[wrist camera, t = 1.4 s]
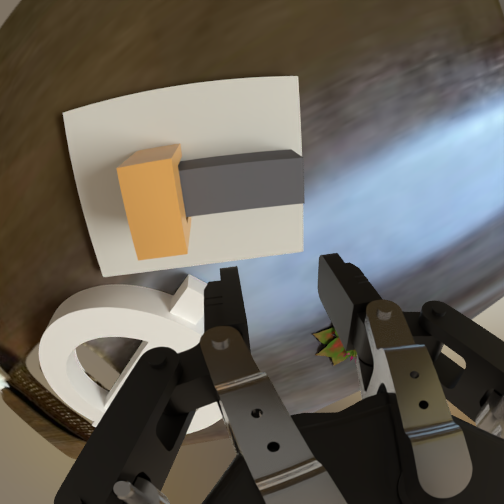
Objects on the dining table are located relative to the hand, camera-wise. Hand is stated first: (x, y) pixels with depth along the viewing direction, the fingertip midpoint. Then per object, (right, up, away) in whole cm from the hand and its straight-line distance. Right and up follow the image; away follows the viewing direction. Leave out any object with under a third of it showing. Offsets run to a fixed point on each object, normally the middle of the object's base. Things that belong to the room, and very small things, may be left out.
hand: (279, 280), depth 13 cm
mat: (-7, +8, +16) cm, 20 cm away
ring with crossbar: (-18, -15, +28) cm, 36 cm away
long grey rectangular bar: (-4, +8, +15) cm, 18 cm away
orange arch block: (-9, +7, +15) cm, 19 cm away
